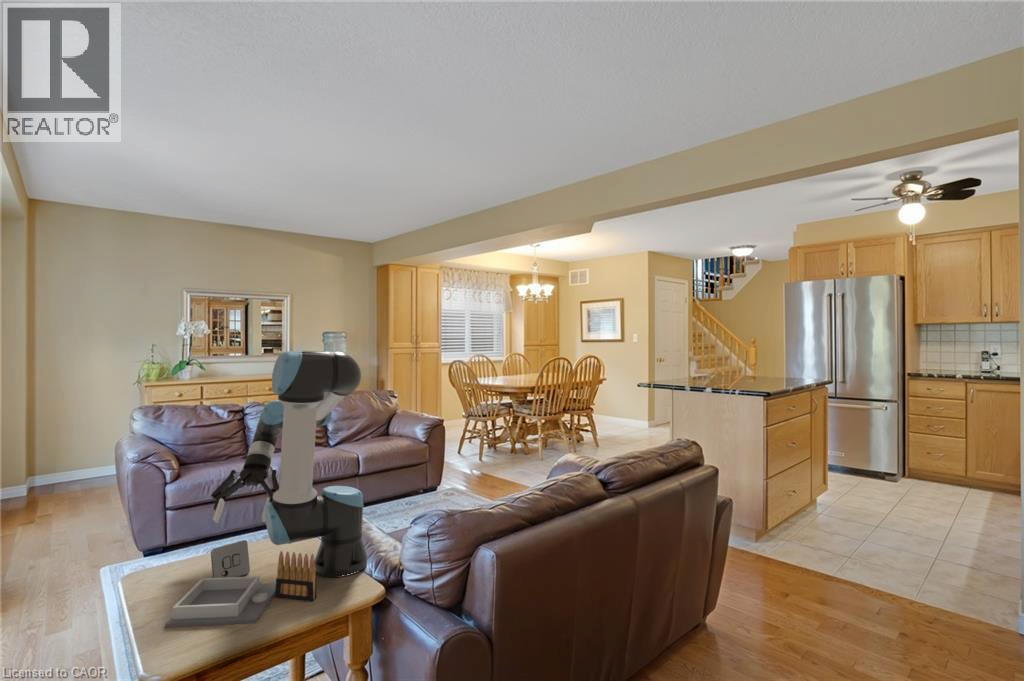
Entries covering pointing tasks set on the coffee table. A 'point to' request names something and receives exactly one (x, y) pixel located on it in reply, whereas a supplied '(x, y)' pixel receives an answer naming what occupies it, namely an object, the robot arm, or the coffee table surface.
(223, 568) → the electrical switch
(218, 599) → the housing
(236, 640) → the coffee table surface
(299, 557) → the ammunition clip
